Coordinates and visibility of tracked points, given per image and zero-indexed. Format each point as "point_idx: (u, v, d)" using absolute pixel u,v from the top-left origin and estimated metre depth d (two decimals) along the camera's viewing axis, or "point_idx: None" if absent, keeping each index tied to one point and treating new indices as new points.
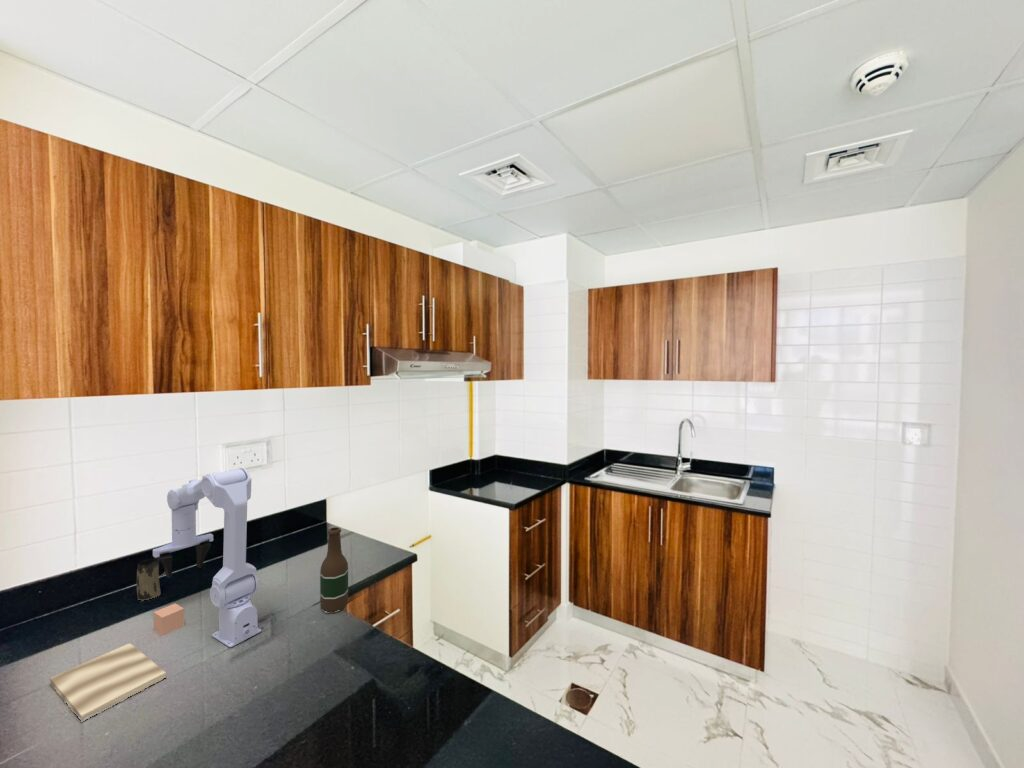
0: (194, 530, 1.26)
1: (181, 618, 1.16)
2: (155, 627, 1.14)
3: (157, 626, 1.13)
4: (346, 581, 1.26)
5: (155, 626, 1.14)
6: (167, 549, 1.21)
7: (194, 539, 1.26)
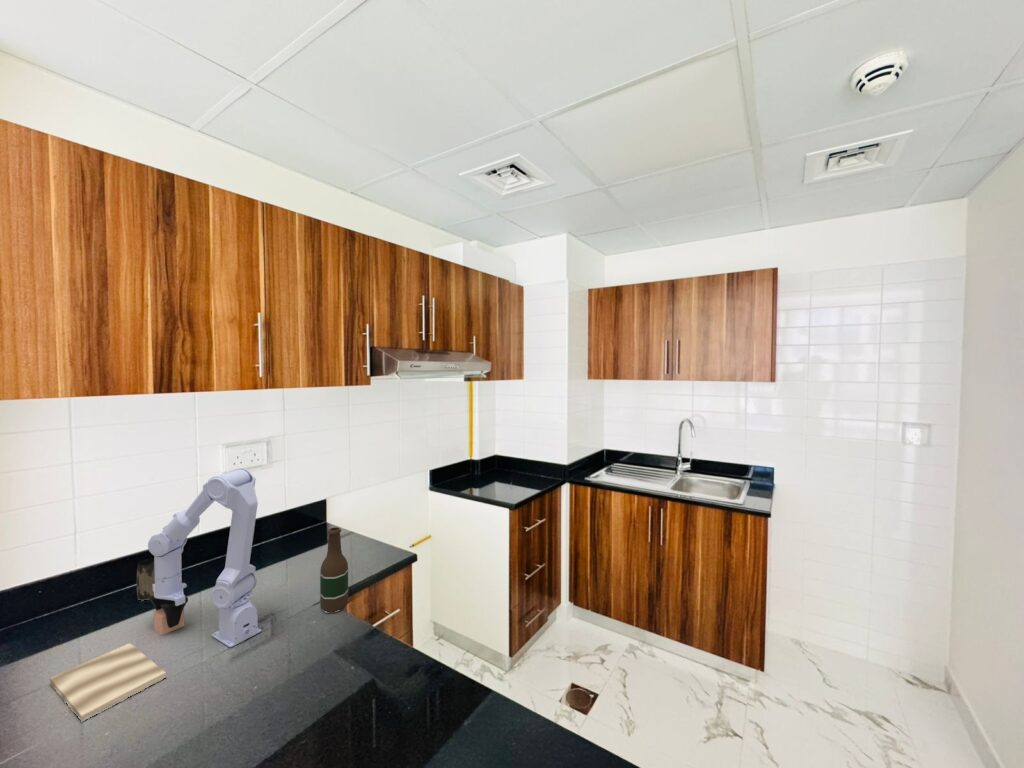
0: (162, 583, 1.12)
1: (181, 618, 1.16)
2: (155, 627, 1.14)
3: (157, 626, 1.13)
4: (346, 581, 1.26)
5: (155, 626, 1.14)
6: (154, 589, 1.16)
7: (162, 593, 1.12)
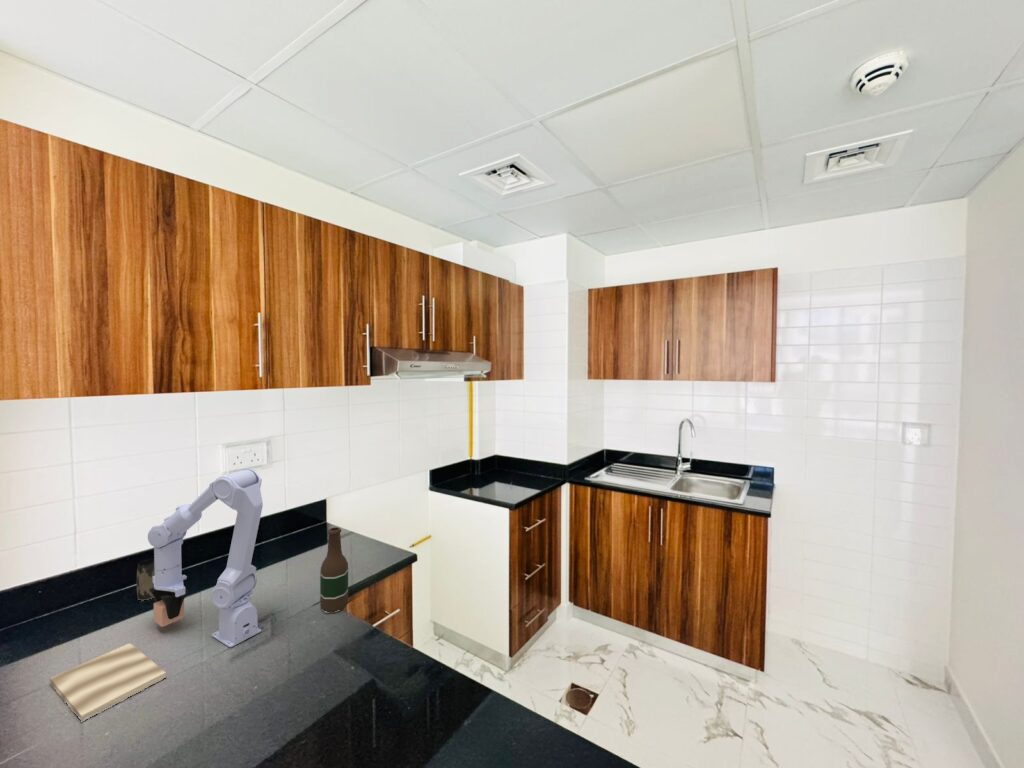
0: (162, 574, 1.12)
1: (181, 609, 1.15)
2: (155, 618, 1.14)
3: (157, 617, 1.13)
4: (346, 581, 1.26)
5: (155, 617, 1.14)
6: (154, 580, 1.16)
7: (162, 584, 1.12)
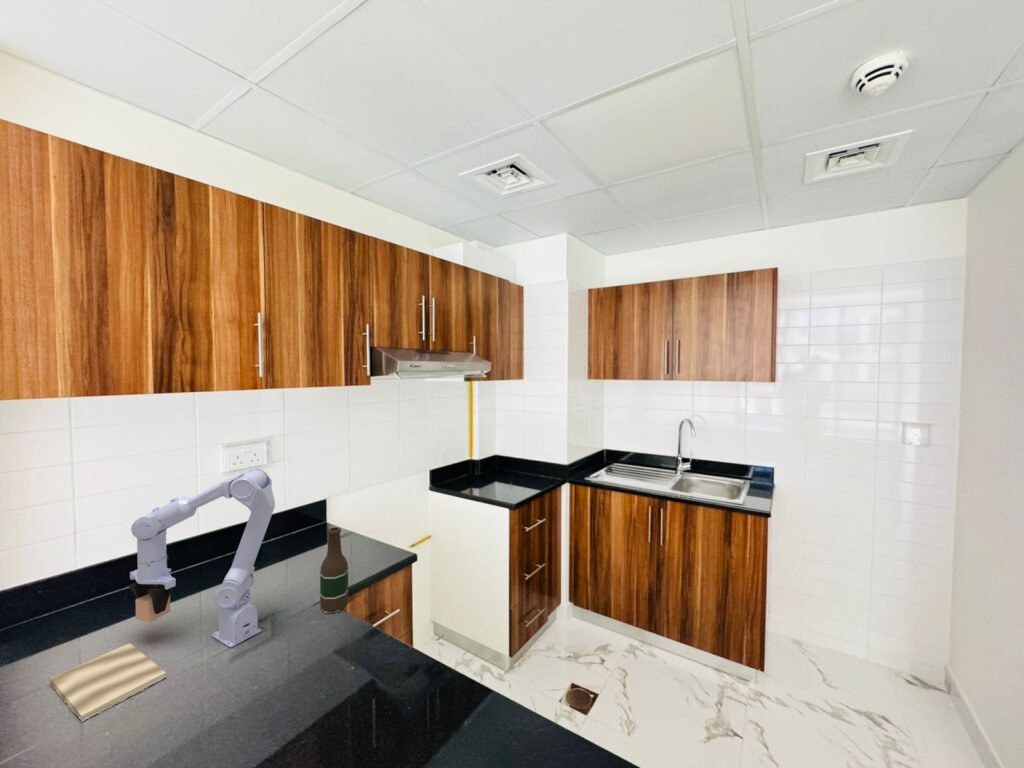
0: (148, 567, 1.06)
1: (167, 603, 1.10)
2: (138, 615, 1.07)
3: (142, 613, 1.07)
4: (346, 581, 1.26)
5: (138, 614, 1.07)
6: (134, 576, 1.09)
7: (147, 578, 1.06)
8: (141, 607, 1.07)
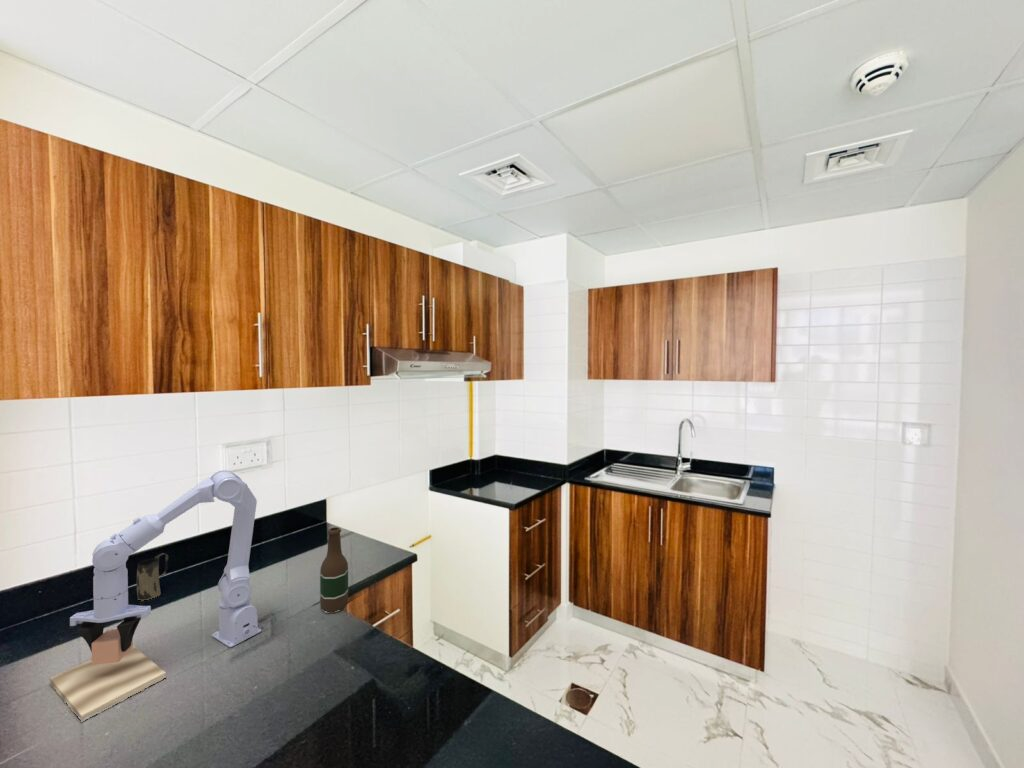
0: (115, 601, 0.95)
1: None
2: (97, 660, 0.94)
3: (104, 656, 0.94)
4: (346, 581, 1.26)
5: (97, 658, 0.94)
6: (82, 619, 0.94)
7: (114, 613, 0.95)
8: (103, 649, 0.94)
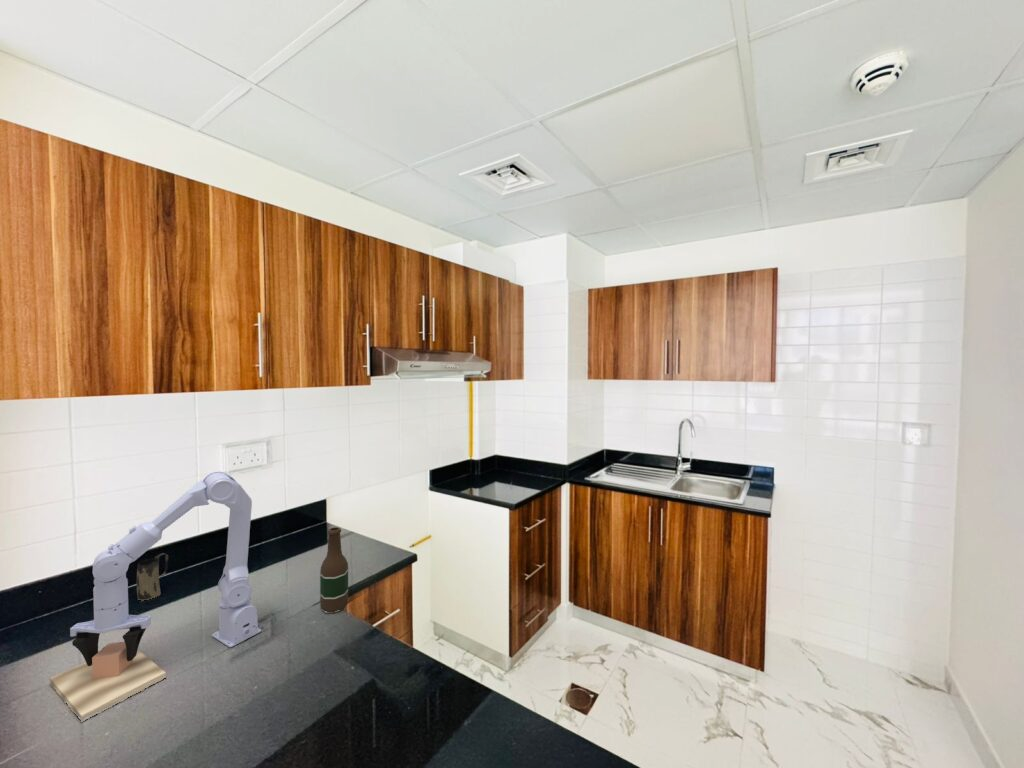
0: (115, 611, 0.95)
1: None
2: (98, 674, 0.94)
3: (105, 670, 0.95)
4: (346, 581, 1.26)
5: (98, 673, 0.94)
6: (82, 629, 0.94)
7: (114, 623, 0.95)
8: (104, 663, 0.94)
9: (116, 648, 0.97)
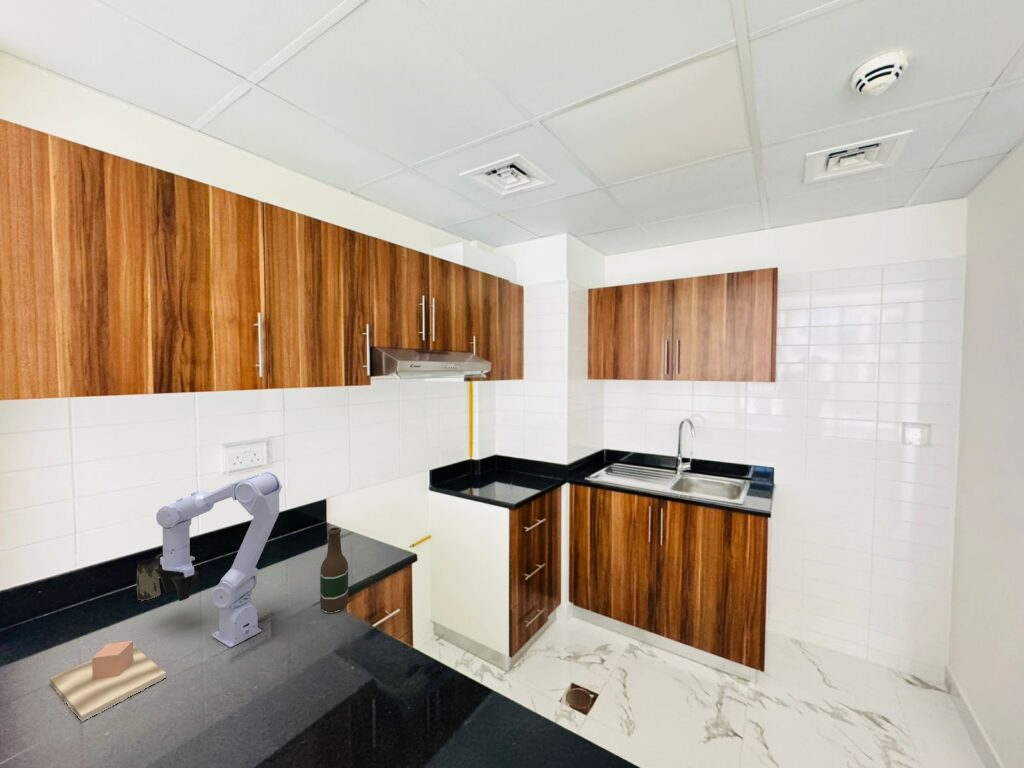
0: (171, 554, 1.11)
1: (131, 652, 0.99)
2: (98, 674, 0.94)
3: (105, 670, 0.95)
4: (346, 581, 1.26)
5: (98, 673, 0.94)
6: (162, 561, 1.15)
7: (170, 565, 1.11)
8: (104, 663, 0.94)
9: (116, 648, 0.97)
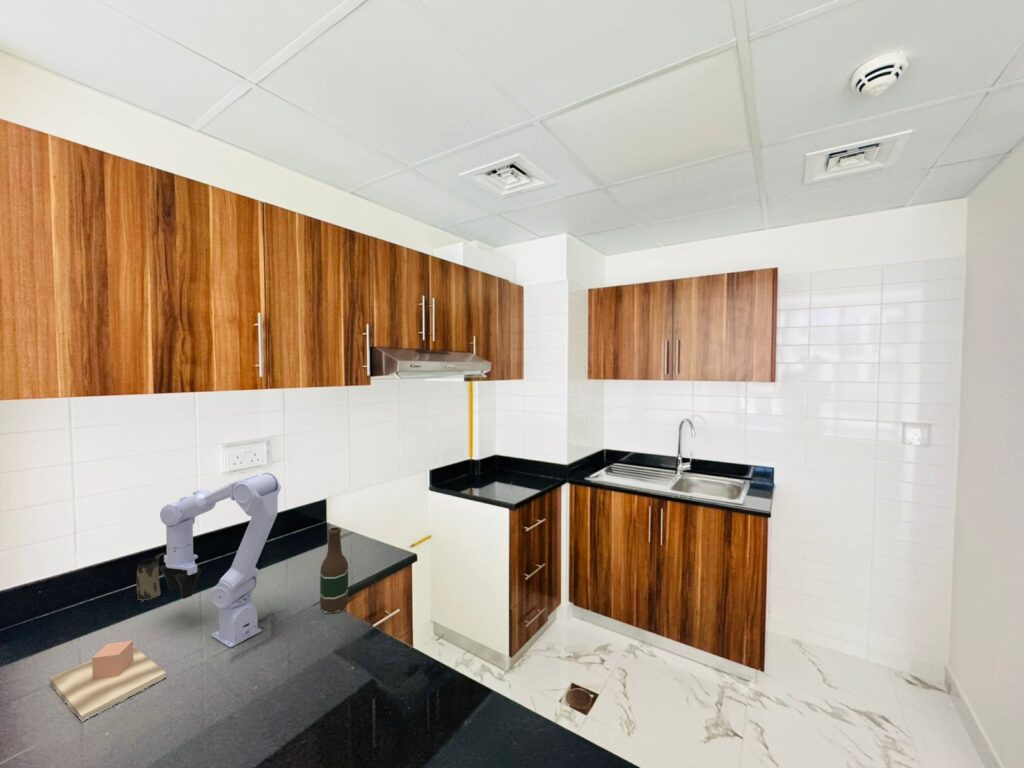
0: (174, 552, 1.12)
1: (131, 652, 0.99)
2: (98, 674, 0.94)
3: (105, 670, 0.95)
4: (346, 581, 1.26)
5: (98, 673, 0.94)
6: (165, 559, 1.16)
7: (174, 562, 1.13)
8: (104, 663, 0.94)
9: (116, 648, 0.97)
